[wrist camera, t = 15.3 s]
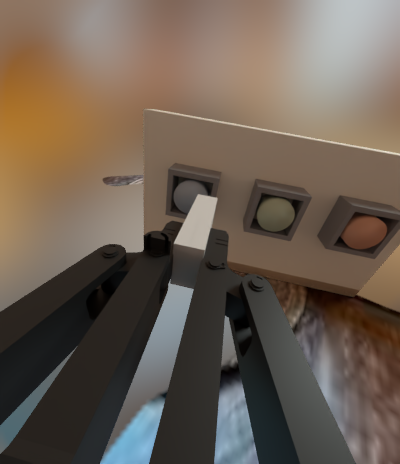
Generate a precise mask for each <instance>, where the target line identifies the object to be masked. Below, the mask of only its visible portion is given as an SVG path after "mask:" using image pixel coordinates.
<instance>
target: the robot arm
mask: <svg viewBox="0 0 400 464" xmlns="http://www.w3.org/2000/svg"><path fill="white" fill-rule="evenodd" d="M217 199H218V198H215V197H210V196H205V195H200V194H198V195H197V197H196V199H195V201H194V203H193V205H192V207H191V209H190V211H189V213H188V215H187V217H186V219H185V222H184V223H182V222H177V221H170V222H169V223H167V224H166V225H165V227H164V229H163V230H162V231H151V232H148V233H146V234H145V235H144V250H143V252H138V253H126V250H125V248H124V247H122V246H121V245H117V244H109V245H105V246H103V247H100V248H99V249H97V250H96V251H94V252H93V253H91V254H89V255H88V256H86V257H85V258H83V259H82V260H80V261H79V262H77V263H76V264H74V265H72V266H71V267H69V268H68V269H66V270H65V271H63V272H62V273H60V274H58V275H57V276H55V277H54V278H52V279H51V280H49V281H48V282H46V283H44V284H43V285H41V286H40V287H38V288H37V289H35V290H34V291H32V292H31V293H29V294H28V295H26V296H24V297H23V298H21V299H20V300H18V301H17V302H15V303H13V304H12V305H11V306H9V307H7V308H6V309H4V310H3V311H1V312H0V425H1V424H2V423H3V422H4V421H5V420H6V419H7V418H8V417H9V416H10V415H11V414H12V412H14V411H15V410H16V409H17V407H18V406H19V405H20V404H21V403H22V402H23V401H24V400H25V399H26V398H27V397H28V396H29V395H30V394H31V393H32V392H33V391H34V390H35V389H36V388H37V387H38V386H39V385H40V384H41V383H42V382H43V381H44V380H45V379H46V378H47V377H48V376H49V374H50V373H52V371H53V370H54V369H55V368H56V367H57V366H58V365H59V364H60V363H61V362H62V361H63V360H64V359H65V358H66V357H67V356H68V355H69V354H70V353H71V352H72V351H73V350H74V349H75V348H76V347H77V348H76V349H75V351H74V352H73V354H72V355H71V357H70V358H69V359H68V361H67V362H66V364H65V365H64V367H63V368H62V370H61V371H60V373H59V374H58V376H57V377H56V378H55V380H54V381H53V383H52V384H51V386H50V387H49V389H48V390H47V392H46V393H45V395H44V396H43V397H42V399H41V400H40V402H39V403H38V405H37V406H36V408H35V409H34V411H33V412H32V413H31V415H30V416H29V418H28V419H27V421H26V422H25V424H24V425H23V427H22V428H21V430H20V431H19V432H18V434H17V435H16V437H15V438H14V439H13V441H12V442H11V443H10V445H9V446H8V447H7V448H6V449H5V450H4V451H3V452H2V453H1V454H0V464H100V461H101V459H102V456H103V454H104V451H105V449H106V446H107V444H108V441H109V439H110V436H111V433H112V431H113V428H114V426H115V423H116V421H117V418H118V416H119V413H120V411H121V408H122V406H123V403H124V400H125V398H126V395H127V393H128V390H129V388H130V385H131V383H132V380H133V378H134V375H135V373H136V370H137V367H138V365H139V362H140V360H141V357H142V354H143V352H144V349H145V347H146V345H147V342H148V340H149V337H150V334H151V332H152V329H153V327H154V324H155V322H156V319H157V317H158V314H159V312H160V309H161V307H162V304H163V301H164V299H165V296H166V294H167V291H168V283H169V281H170V279H171V282H170V283H171V284H176V285H179V286H184V287H188V288H192V289H194V291H193V295H192V299H191V303H190V307H189V310H188V314H187V319H186V322H185V326H184V330H183V334H182V338H181V342H180V346H179V349H178V353H177V357H176V362H175V365H174V369H173V373H172V377H171V380H170V384H169V388H168V392H167V396H166V400H165V404H164V408H163V411H162V415H161V419H160V423H159V427H158V431H157V435H156V439H155V443H154V446H153V450H152V454H151V458H150V462H149V464H214V456H215V442H216V428H217V415H218V401H219V387H220V373H221V360H222V359H221V358H222V345H223V332H224V318H225V316H227V317H229V321H230V325H231V330H232V336H233V340H234V345H235V350H236V355H237V360H238V364H239V369H240V374H241V379H242V384H243V389H244V393H245V398H246V403H247V408H248V413H249V417H250V422H251V427H252V432H253V437H254V442H255V446H256V451H257V456H258V461H259V464H356V463H355V461H354V459H353V457H352V454H351V452H350V450H349V448H348V446H347V444H346V442H345V440H344V438H343V435H342V433H341V431H340V429H339V427H338V425H337V423H336V421H335V419H334V417H333V414H332V412H331V410H330V408H329V406H328V404H327V402H326V400H325V398H324V396H323V393H322V391H321V389H320V387H319V385H318V383H317V381H316V379H315V377H314V375H313V372H312V370H311V368H310V366H309V364H308V362H307V360H306V358H305V356H304V354H303V351H302V349H301V347H300V345H299V343H298V341H297V339H296V337H295V335H294V333H293V330H292V328H291V326H290V324H289V322H288V320H287V318H286V316H285V314H284V312H283V309H282V307H281V305H280V303H279V301H278V299H277V297H276V295H275V293H274V291H273V288H272V286H271V285H270V283H269V282H268V281H267V280H266V279H265V278H264V277H261V276H259V275H256V274H248V275H246V276H244V277H241V276H239V275H237V274H236V273H234V272H233V271H231V270H230V268H229V267H228V264H227V255H228V243H229V235H228V234H227V232H226V231H223V230H219V229H214V228H212V224H213V219H214V214H215V209H216V204H217Z"/></svg>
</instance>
